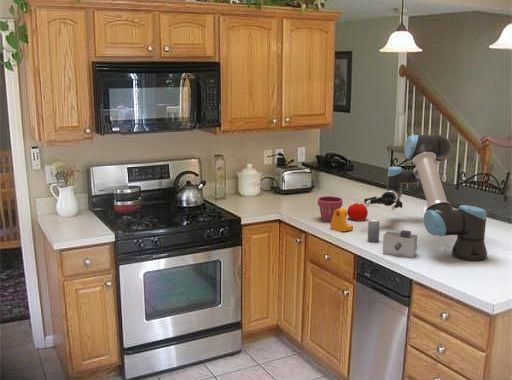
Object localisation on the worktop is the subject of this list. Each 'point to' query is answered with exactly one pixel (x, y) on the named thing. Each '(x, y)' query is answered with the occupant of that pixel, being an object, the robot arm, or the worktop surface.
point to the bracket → (340, 220)
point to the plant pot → (328, 206)
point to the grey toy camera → (400, 243)
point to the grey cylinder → (373, 230)
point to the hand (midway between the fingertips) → (379, 206)
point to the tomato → (357, 212)
